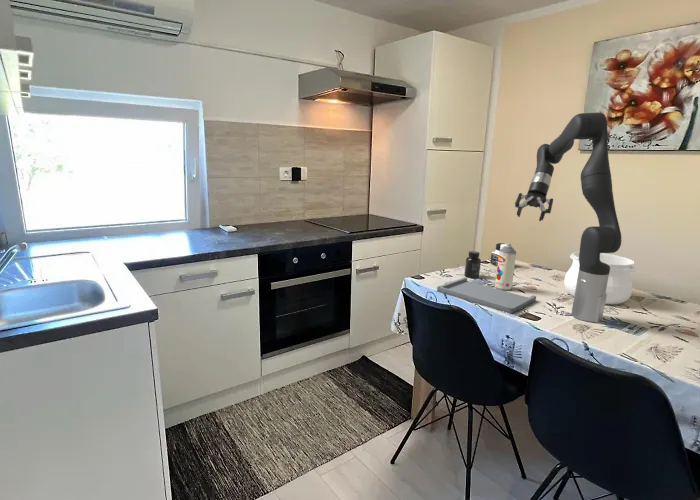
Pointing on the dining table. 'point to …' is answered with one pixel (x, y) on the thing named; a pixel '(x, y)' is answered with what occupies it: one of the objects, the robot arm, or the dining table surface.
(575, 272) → the pot
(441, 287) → the tray
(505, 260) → the aerosol can
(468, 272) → the supplement bottle
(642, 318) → the dining table surface
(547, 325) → the dining table surface
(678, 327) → the dining table surface
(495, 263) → the medicine bottle
